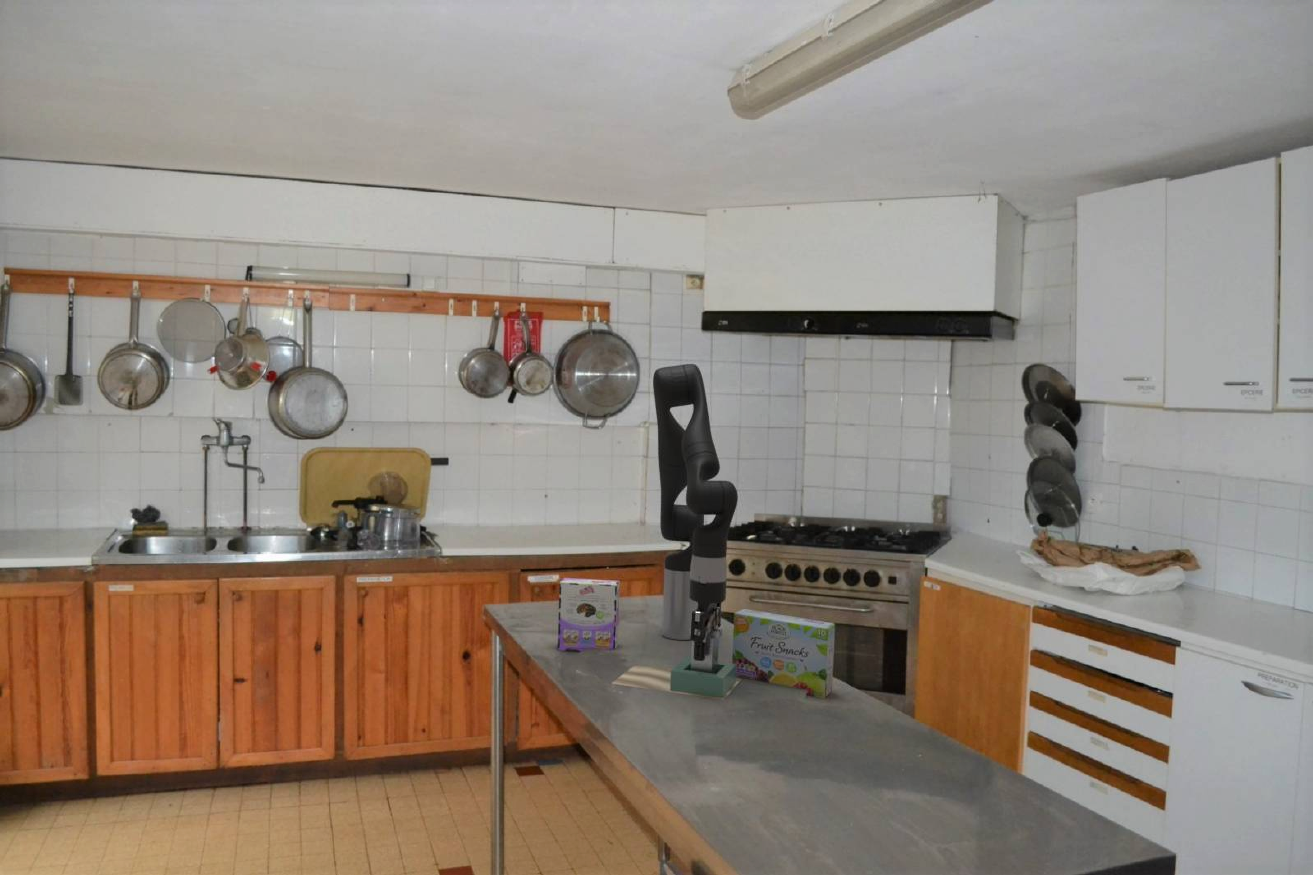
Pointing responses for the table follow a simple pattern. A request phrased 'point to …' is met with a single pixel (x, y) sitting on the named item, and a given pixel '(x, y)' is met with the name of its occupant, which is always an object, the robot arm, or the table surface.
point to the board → (654, 680)
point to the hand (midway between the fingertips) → (705, 655)
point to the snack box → (784, 650)
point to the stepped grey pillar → (707, 653)
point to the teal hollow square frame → (703, 679)
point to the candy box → (588, 614)
